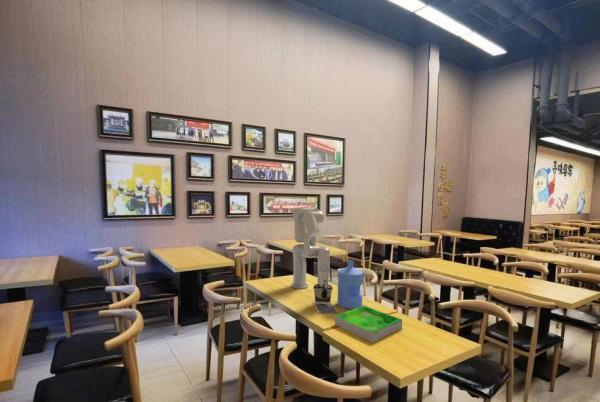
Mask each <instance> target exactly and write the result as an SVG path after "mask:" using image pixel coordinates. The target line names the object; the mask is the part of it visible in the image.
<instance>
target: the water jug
mask: <svg viewBox="0 0 600 402" xmlns="http://www.w3.org/2000/svg"><path fill="white" fill-rule="evenodd" d="M347 261H348V263H347V266H346V267H344V268H342V269H339V270H337V271H338V272H337V305H338V306H339V307H341V308H344V309H349V310H350V309H351V310H353V309H356V308H359V307H361V306H363V293H362V292H361V286H362V285H363V280H364V272H362V271H361V270H360V269H358V268H356V267H354V260H352V259H350V260H349V259H348V260H347Z"/></svg>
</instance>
